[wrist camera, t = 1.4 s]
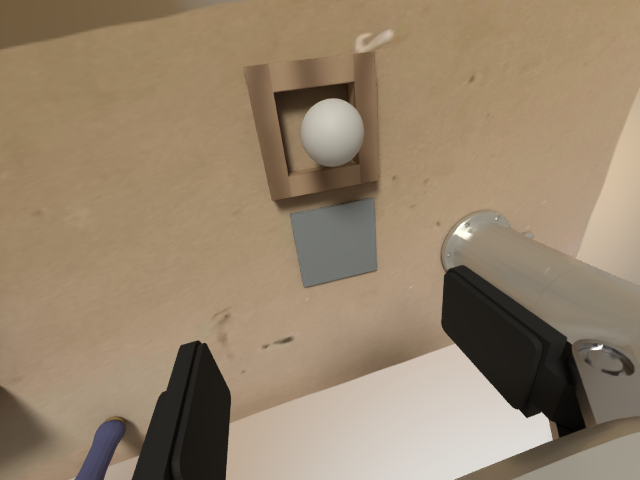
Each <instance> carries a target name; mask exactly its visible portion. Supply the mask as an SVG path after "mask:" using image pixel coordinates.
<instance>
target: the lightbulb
mask: <svg viewBox="0 0 640 480" xmlns="http://www.w3.org/2000/svg"><path fill="white" fill-rule="evenodd" d="M363 139H364V125H363V121H362V118H361V116H360V114H359V113H358V111H357V110H356V109H355V108H354V107H353V106H352V105H351V104H349V103H348V102H346V101H344V100H341V99H335V98H332V99H325V100H323V101H320V102H318V103H316V104H315V105H314V106H312V107H311V108H310V109H309V111H308V112H307V114H306V115H305V117H304V119H303V122H302V126H301V141H302V144H303V147H304V149H305V151H306V153H307V154H308V155H309V156H310V158H312V159H313V160H314V161H315V162H317V163H319V164H321V165H324V166H329V167H334V166H340V165H343V164H345V163H347V162H349V161H350V160H351V159H353V158H354V157H355V156H356V154H357V153H358V152H359V150H360V148H361V146H362V143H363Z"/></svg>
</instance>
